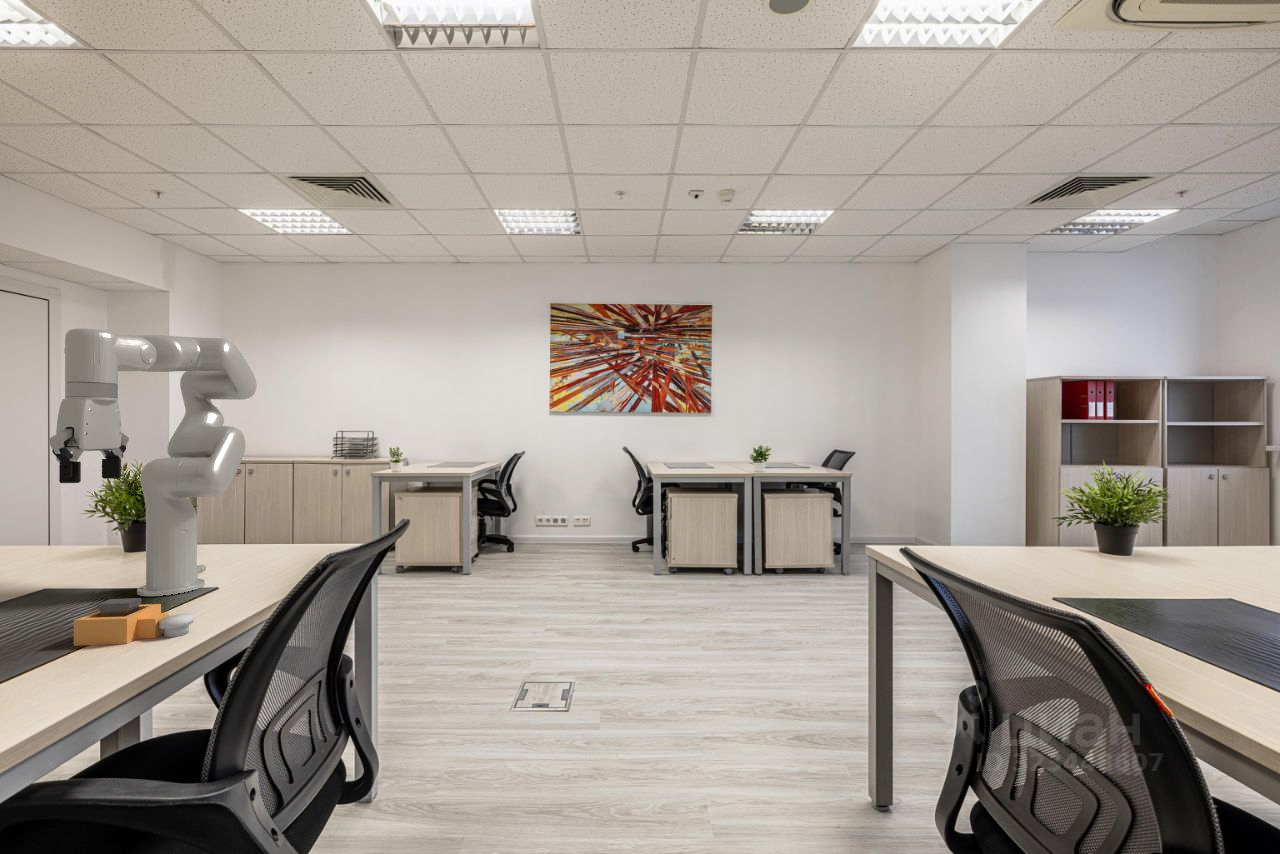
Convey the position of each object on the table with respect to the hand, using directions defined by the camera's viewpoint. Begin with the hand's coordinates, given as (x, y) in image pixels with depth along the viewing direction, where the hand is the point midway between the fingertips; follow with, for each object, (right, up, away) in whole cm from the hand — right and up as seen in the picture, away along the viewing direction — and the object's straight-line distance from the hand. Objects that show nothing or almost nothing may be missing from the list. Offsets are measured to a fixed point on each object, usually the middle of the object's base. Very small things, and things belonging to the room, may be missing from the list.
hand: (91, 480), depth 113 cm
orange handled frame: (+15, -28, -5) cm, 32 cm away
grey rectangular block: (+11, -28, -6) cm, 31 cm away
